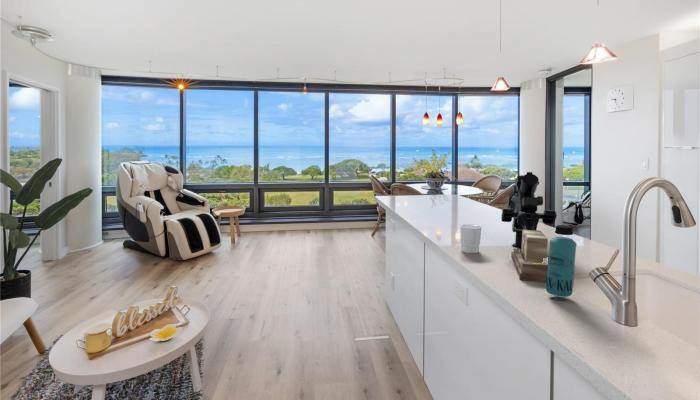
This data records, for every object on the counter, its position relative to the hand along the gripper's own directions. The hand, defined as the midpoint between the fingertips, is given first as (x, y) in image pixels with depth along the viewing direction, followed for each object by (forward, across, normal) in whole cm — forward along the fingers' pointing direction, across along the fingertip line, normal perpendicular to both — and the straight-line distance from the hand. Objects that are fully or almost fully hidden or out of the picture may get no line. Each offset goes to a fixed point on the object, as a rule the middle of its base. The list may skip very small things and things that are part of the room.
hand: (529, 234), depth 140 cm
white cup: (+5, -21, +7) cm, 23 cm away
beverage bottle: (+34, +2, -23) cm, 42 cm away
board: (+17, 0, -5) cm, 17 cm away
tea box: (+12, 0, -3) cm, 12 cm away
